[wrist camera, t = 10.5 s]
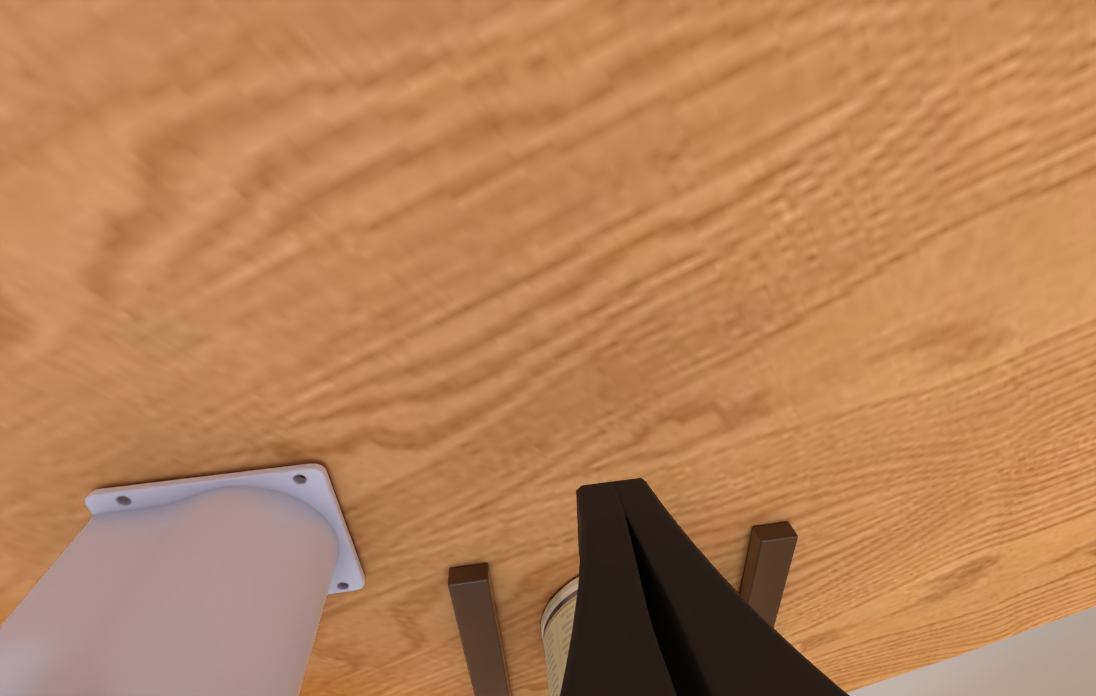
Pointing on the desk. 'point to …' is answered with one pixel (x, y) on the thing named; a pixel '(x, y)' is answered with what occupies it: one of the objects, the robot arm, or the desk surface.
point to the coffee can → (558, 634)
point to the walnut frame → (482, 628)
